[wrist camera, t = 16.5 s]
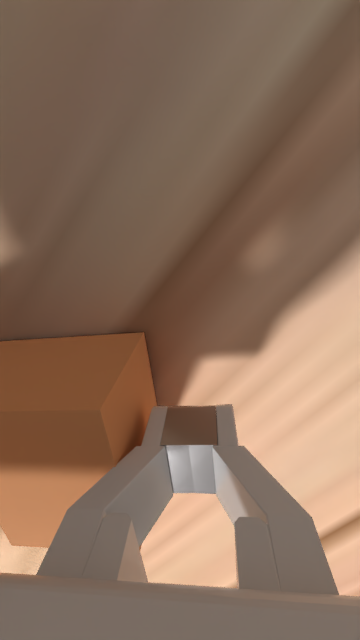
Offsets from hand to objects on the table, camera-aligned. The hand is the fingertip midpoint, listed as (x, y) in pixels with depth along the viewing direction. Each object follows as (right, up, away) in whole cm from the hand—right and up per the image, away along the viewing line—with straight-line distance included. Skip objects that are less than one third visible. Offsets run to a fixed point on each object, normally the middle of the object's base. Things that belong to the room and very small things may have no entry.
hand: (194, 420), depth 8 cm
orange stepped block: (-7, 0, +2) cm, 8 cm away
